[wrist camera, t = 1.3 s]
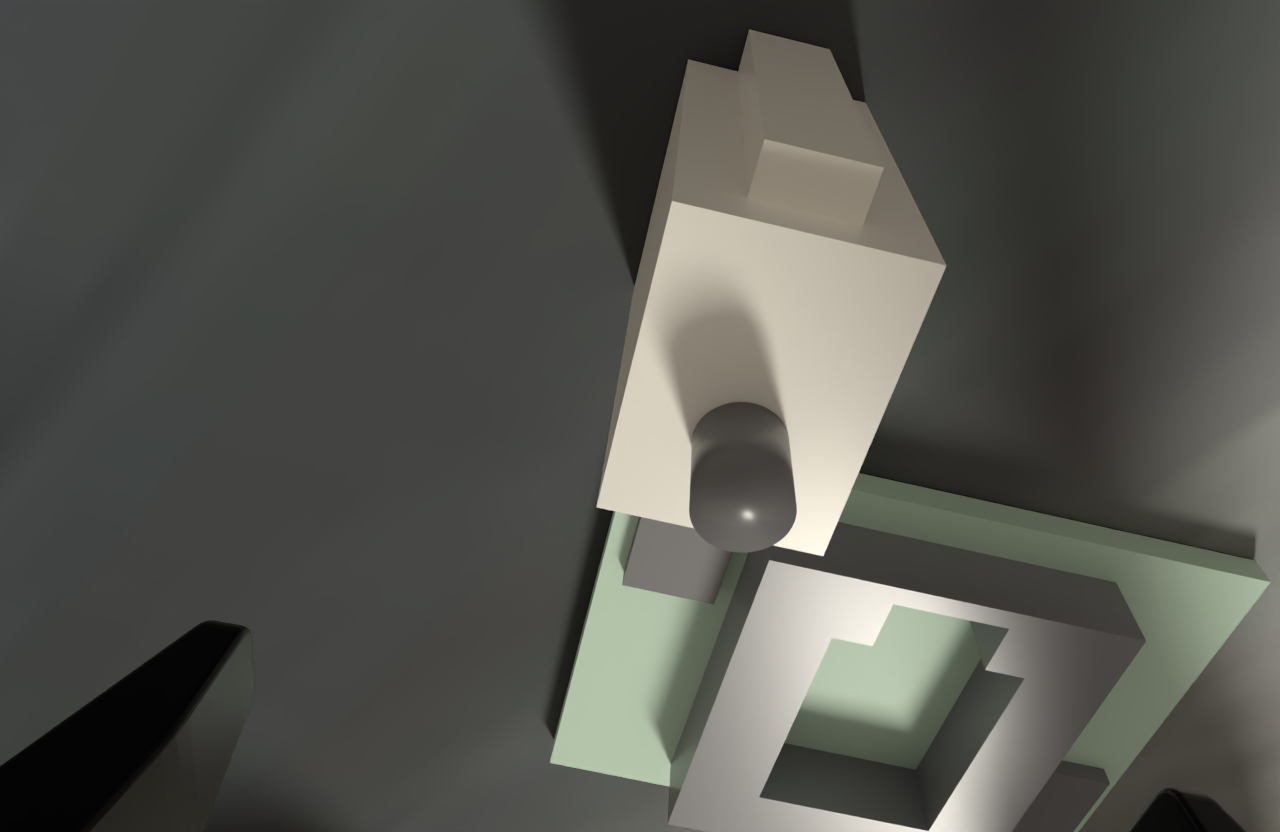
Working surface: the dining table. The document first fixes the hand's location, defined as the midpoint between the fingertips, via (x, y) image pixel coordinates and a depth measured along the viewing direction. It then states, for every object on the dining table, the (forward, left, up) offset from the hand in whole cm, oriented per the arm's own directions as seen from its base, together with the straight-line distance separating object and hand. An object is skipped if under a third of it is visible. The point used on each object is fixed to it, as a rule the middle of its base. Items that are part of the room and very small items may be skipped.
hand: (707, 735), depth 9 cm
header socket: (-7, +11, -13) cm, 19 cm away
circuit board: (-7, +11, -13) cm, 19 cm away
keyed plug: (0, -1, -13) cm, 13 cm away
